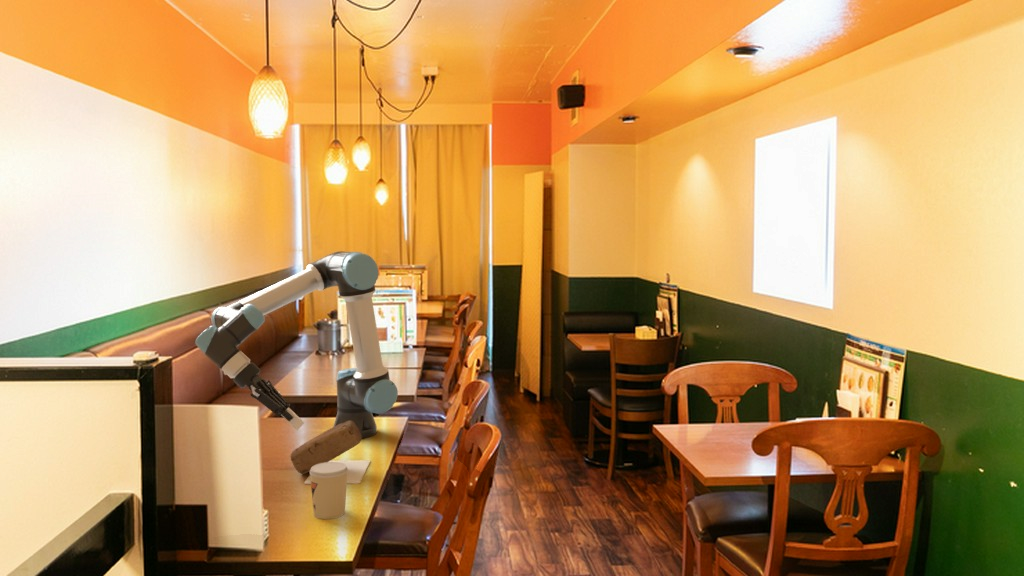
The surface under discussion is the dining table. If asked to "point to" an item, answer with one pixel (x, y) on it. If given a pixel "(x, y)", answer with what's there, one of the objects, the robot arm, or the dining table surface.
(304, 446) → the block
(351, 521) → the dining table surface
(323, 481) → the coffee cup
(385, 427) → the dining table surface
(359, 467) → the mat
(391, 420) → the dining table surface
